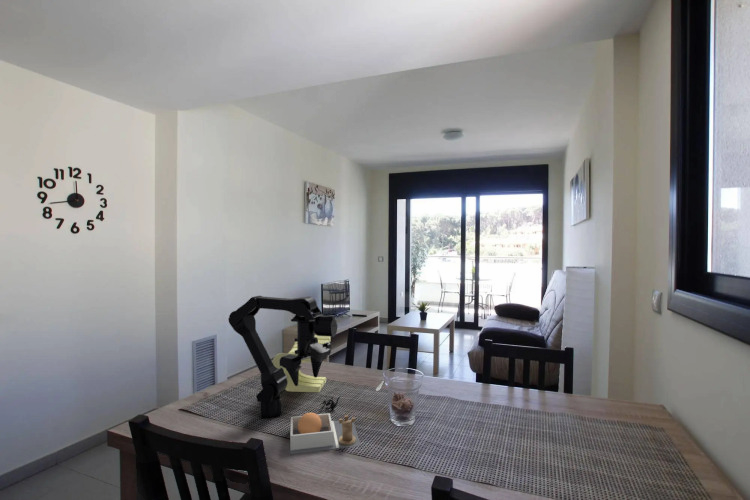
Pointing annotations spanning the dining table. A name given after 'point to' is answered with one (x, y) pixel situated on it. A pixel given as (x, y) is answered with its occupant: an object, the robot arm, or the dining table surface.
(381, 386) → the fork
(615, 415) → the dining table surface
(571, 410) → the dining table surface
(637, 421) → the dining table surface
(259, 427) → the dining table surface
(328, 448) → the grey flat plate
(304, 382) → the slatted curved stool
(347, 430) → the ball tee
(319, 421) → the ball
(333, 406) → the creature
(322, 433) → the tray
